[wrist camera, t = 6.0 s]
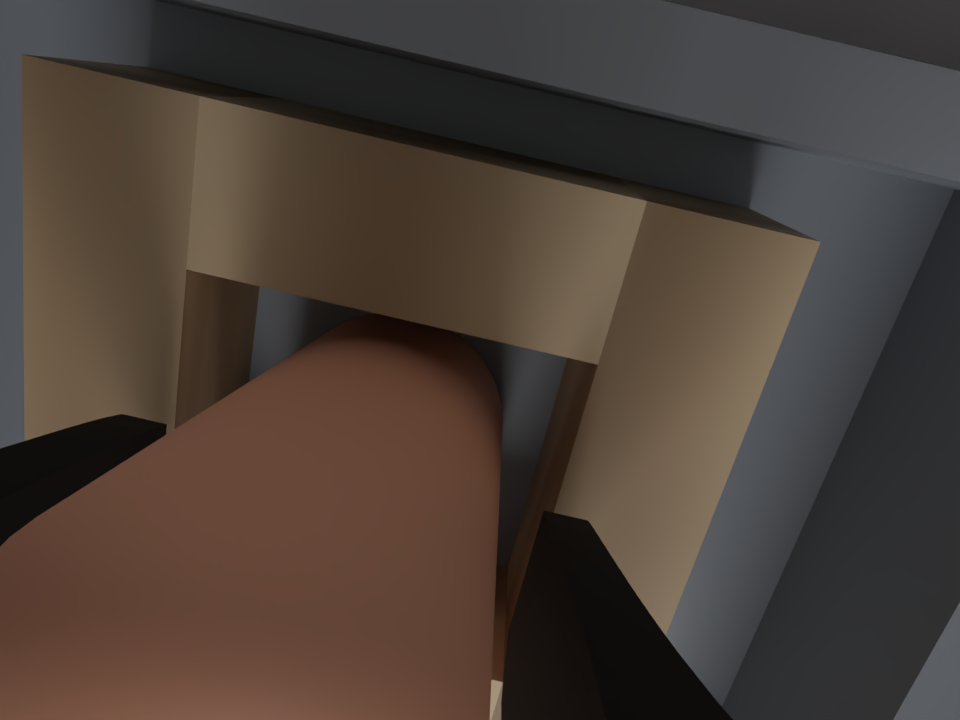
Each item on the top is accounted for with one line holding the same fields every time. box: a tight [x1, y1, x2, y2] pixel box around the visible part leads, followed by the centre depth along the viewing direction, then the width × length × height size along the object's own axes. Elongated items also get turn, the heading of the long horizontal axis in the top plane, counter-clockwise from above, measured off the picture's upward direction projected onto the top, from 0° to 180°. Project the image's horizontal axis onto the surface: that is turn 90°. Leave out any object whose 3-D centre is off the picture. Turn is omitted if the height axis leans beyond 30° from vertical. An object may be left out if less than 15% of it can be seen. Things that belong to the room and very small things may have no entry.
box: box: [0, 0, 960, 720], centre depth 12 cm, size 18×18×4 cm
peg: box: [0, 314, 503, 720], centre depth 9 cm, size 4×4×8 cm
